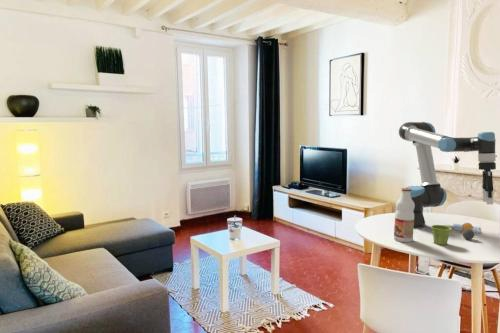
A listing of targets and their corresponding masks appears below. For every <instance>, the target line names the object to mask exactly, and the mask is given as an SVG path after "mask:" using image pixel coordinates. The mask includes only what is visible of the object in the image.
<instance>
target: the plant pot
mask: <svg viewBox="0 0 500 333" xmlns="http://www.w3.org/2000/svg"><path fill="white" fill-rule="evenodd" d="M431 230H432V238H433V239H432V240H433V244H435V245H440V246H446V245H448V241H449V237H450V233H451V231H452V227H451V226H448V225H442V224H433V225H431Z"/></svg>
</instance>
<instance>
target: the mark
mask: <svg viewBox="0 0 500 333" xmlns="http://www.w3.org/2000/svg"><path fill="white" fill-rule="evenodd" d="M452 225H453V230H454V231H460V232H463V230H462V225H463V224H460V223H459V224H458V223H453V224H452ZM472 226H473V225H472ZM477 227H478V226H476V227H474V226H473V230H472V231H473V232H475V233H474V234H482V230H481V228H480V229H479V228H477Z"/></svg>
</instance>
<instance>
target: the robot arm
mask: <svg viewBox="0 0 500 333" xmlns="http://www.w3.org/2000/svg"><path fill="white" fill-rule="evenodd" d="M398 135H399V137H400V138H401V139H402V140H404V141H408V142H412V145H413V146H414V147H415V150H416V155H417V156H416V157H417V162H418V167H419V168H418V169H419V174H420V180H421V184H420V185H410V186H405V188H410V189H411V199H412V200H413V202H414V204H415V208H414V210H413V212H414V228H416V229H417V228H420V229H421V228H424V227H426V220H425V217H424V208H436V207H437V208H438V207H440V206H442V205H444V204H445V202H447V191H446V190H445V188H443V187H441V183H439V182H438V180H437V175H436V174H437V173H436V169H435V163H434V161H435V160H434V157H433V151H432V147H433V148H437V149H439V150H440V151H441V152H444V153H450V152H452V153H453V152H454V153H456V152H459V153H460V152H464V153H468V152H477V153H478V155H477V158H478V162H479V163H478V170H480V171H482V185H481V187H482V201H483V203H485V202H486V205H494V190H495V189H494V180H493V170H494V171H495V170H496V168H497V166H496V164H497V163H496V159H497V156H498V155H496V134H495V132H494V131H482V132H478V134H477V136H473V137H452V136H447V135H443V134H440V133H436V129H435V127H434V125H433V124H432V123H430V122H426V121H417V122H416V121H415V122H414V121H409V122H405V123H403V124H402V125H401V126H399V129H398ZM491 170H492V171H491ZM414 228H413V229H414Z"/></svg>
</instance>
